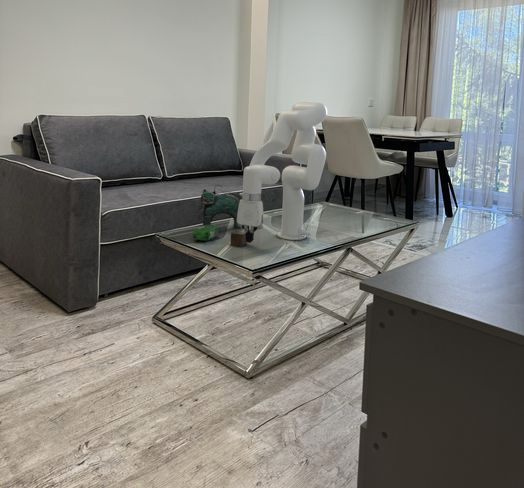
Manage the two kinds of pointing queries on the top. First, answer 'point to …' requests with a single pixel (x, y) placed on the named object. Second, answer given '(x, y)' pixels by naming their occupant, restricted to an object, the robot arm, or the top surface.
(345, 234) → the top surface
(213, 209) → the ceramic cat
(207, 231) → the snack package
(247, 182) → the robot arm
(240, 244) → the walnut block
